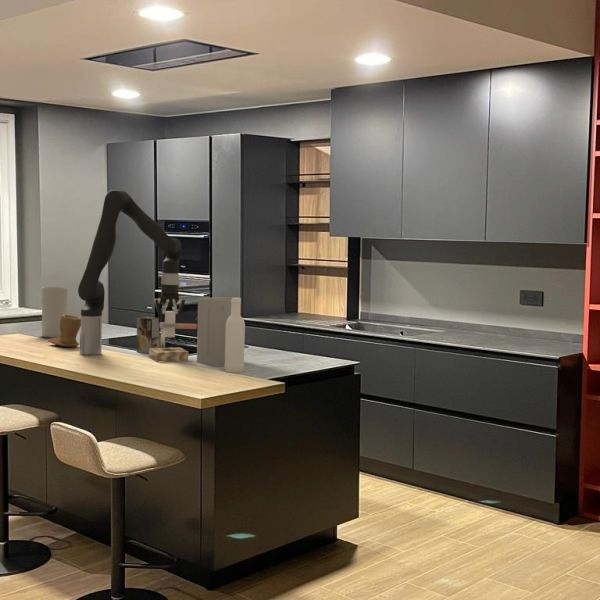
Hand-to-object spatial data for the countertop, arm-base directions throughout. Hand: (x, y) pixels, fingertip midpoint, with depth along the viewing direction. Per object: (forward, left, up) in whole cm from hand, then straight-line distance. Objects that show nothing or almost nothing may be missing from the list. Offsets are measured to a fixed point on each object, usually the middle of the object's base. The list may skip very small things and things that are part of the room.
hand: (169, 322), depth 375 cm
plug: (0, 0, -6) cm, 6 cm away
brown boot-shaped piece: (-37, +49, -17) cm, 63 cm away
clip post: (0, +11, -16) cm, 20 cm away
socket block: (0, 0, -16) cm, 16 cm away
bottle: (+18, -37, -17) cm, 44 cm away
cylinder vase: (-38, +86, -17) cm, 95 cm away
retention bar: (+6, +9, -4) cm, 11 cm away
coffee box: (-4, +22, -17) cm, 28 cm away
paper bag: (+20, -17, -17) cm, 31 cm away
